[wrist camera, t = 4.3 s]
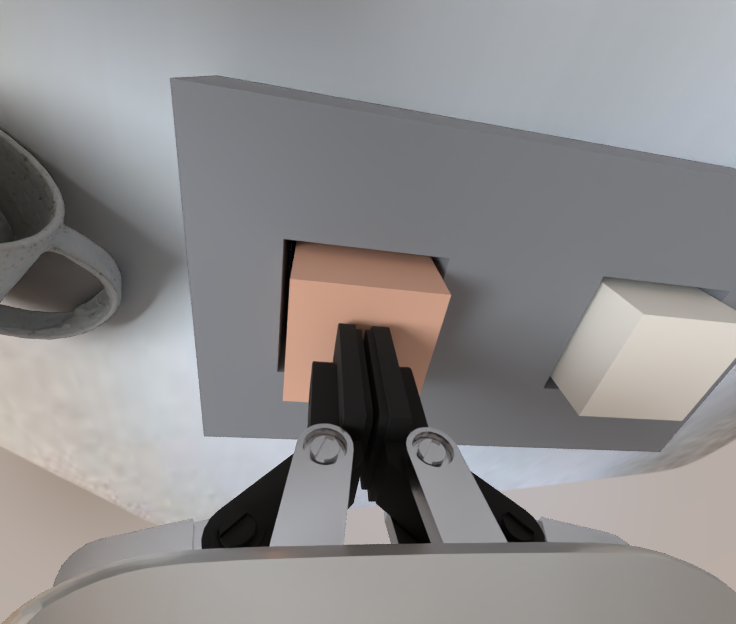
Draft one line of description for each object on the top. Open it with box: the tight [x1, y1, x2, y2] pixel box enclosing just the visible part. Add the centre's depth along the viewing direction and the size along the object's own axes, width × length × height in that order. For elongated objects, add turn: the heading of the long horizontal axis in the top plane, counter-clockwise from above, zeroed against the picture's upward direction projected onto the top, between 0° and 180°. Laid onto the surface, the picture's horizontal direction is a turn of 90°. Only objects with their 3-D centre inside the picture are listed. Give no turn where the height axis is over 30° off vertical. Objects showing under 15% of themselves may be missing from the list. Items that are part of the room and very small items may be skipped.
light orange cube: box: [283, 241, 451, 402], centre depth 15 cm, size 5×5×5 cm
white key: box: [550, 276, 736, 421], centre depth 17 cm, size 5×5×5 cm
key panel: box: [170, 76, 736, 452], centre depth 18 cm, size 24×14×5 cm, turn 81°
